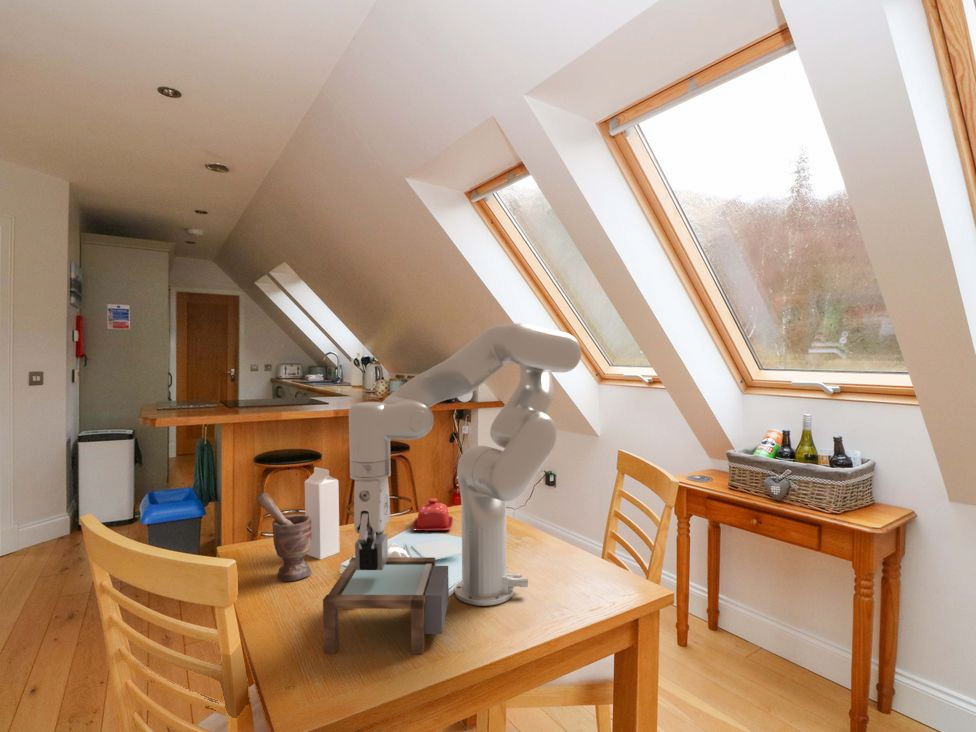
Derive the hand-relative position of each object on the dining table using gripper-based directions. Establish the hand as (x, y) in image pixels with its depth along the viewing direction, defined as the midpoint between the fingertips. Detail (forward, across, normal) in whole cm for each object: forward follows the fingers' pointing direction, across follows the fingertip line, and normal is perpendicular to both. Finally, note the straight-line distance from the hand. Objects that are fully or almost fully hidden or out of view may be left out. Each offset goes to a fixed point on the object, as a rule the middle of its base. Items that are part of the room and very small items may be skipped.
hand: (372, 562), depth 105 cm
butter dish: (+13, +57, -5) cm, 59 cm away
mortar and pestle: (+13, +22, +25) cm, 36 cm away
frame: (+12, 0, -3) cm, 13 cm away
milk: (+13, +36, +21) cm, 44 cm away
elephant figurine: (+13, +25, 0) cm, 28 cm away
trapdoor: (+10, 0, -5) cm, 11 cm away
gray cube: (+1, 0, 0) cm, 1 cm away
